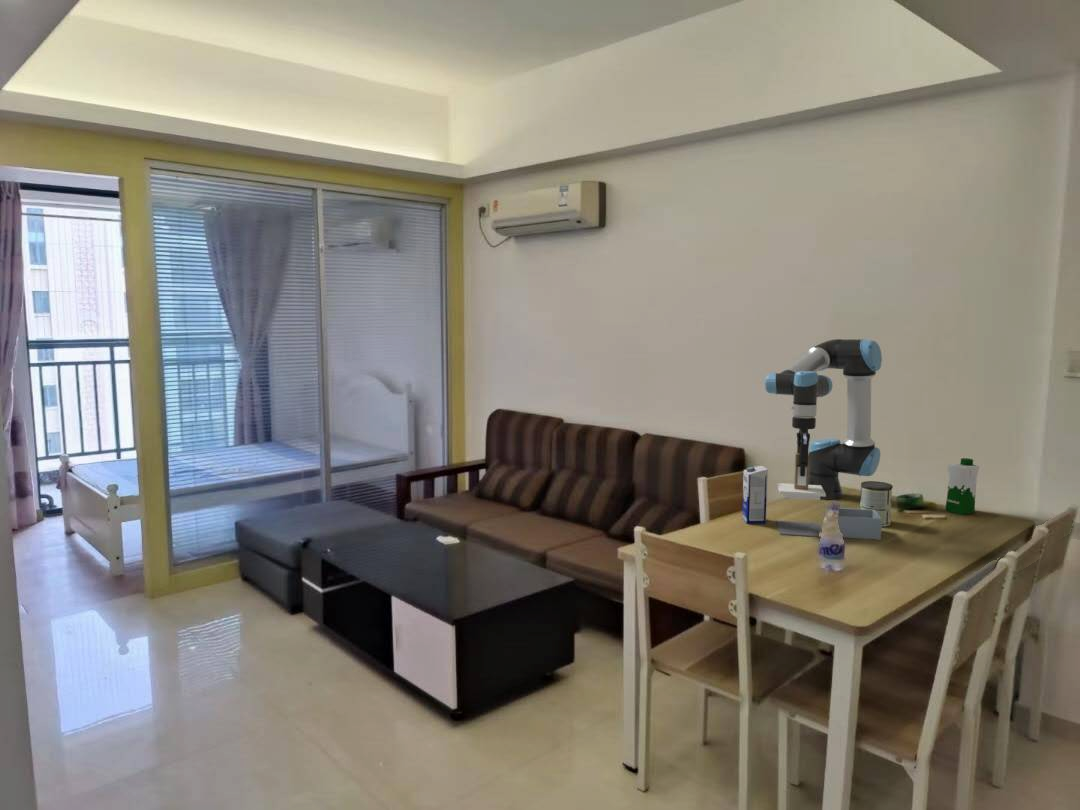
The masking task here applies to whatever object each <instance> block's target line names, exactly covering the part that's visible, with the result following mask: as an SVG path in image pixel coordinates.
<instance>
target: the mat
mask: <svg viewBox="0 0 1080 810" xmlns="http://www.w3.org/2000/svg"><path fill="white" fill-rule="evenodd" d="M776 524H777V528H778V532H779V535H780V536H781V535H782V536H793V537H794V536H797V537H809V538H810V537H811V538H820V537H819V533H820V529H821V526H820V524H819V523H818V522H804V521H803V522H802V521H789V520H776Z"/></svg>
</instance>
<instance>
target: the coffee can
mask: <svg viewBox="0 0 1080 810" xmlns="http://www.w3.org/2000/svg"><path fill="white" fill-rule="evenodd" d="M893 487H894V486H893V485H892V484H891V483H888V482H884V481H875V480H867V481H862V482H861V483H860V505H859V509H871V510H875V511H876V512H877V513H878V515H879V516H880V517H881V519H882V525H881V528H882V527H883V528H884V527H889V526H890V525H891V514H892V513H891V512H892V500H893V499H892V494H893Z"/></svg>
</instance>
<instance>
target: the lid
mask: <svg viewBox="0 0 1080 810" xmlns="http://www.w3.org/2000/svg"><path fill="white" fill-rule="evenodd" d="M809 461H810V455H809V452H808V466H807V474H806V486H802V485H797V483H798V467H797V465H799V453H797V452H795V453H794V471H793V472H794V473H793V483H783V482H782V483H781V482H780V483H779V482H777V485H776V487H777V489H778V492H779V495H783V498H784V499H798V500H815V501H816V500H817V501H820V500H821V499H820V496H823V497H826V493H825V491H824V490H823V488H822V486H821V485H808V482H809Z"/></svg>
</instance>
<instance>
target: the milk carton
mask: <svg viewBox="0 0 1080 810" xmlns="http://www.w3.org/2000/svg"><path fill="white" fill-rule="evenodd" d="M768 470H769V469H768V468H766V467H765V466H763V465H757V466H749V467H747V468H746V469H743V479H742V480H743V481H742V484H743V485H742V506H741V507H742V509H741V510H742V511H741V512H742V514H741V518H742V520H743V521H744V522H745V523H746V524H749V525H751V524H752V525H758V524H760V525H761V524H762V525H763V524H764V525H765V524H767V523H766V522H767V502H768V501H767V499H768V498H767V497H768V495H767V494H768V476H769V474H768V473H769V471H768Z"/></svg>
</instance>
